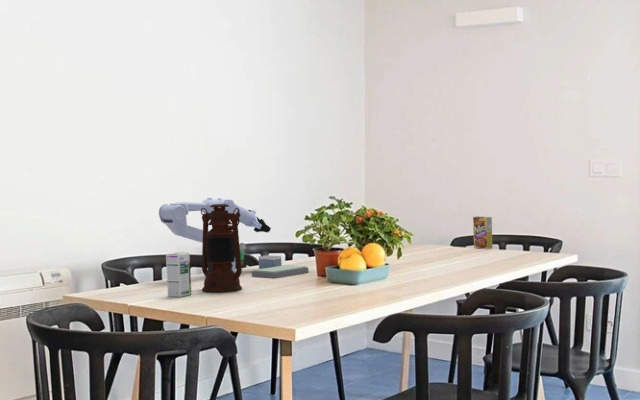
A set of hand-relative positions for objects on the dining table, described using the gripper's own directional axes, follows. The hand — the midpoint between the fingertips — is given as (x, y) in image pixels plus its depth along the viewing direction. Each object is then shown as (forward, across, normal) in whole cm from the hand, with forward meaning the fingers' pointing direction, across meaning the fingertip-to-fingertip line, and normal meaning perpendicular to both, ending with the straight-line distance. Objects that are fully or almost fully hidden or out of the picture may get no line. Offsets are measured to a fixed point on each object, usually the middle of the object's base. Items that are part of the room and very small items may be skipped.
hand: (264, 226), depth 371 cm
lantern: (-37, -44, +21) cm, 62 cm away
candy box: (+113, -12, -39) cm, 120 cm away
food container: (+5, +8, +22) cm, 24 cm away
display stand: (0, -24, +11) cm, 27 cm away
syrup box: (-53, -46, +28) cm, 75 cm away
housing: (+6, -10, +14) cm, 19 cm away
